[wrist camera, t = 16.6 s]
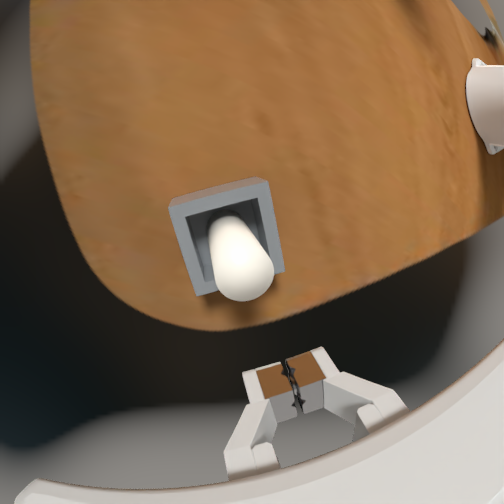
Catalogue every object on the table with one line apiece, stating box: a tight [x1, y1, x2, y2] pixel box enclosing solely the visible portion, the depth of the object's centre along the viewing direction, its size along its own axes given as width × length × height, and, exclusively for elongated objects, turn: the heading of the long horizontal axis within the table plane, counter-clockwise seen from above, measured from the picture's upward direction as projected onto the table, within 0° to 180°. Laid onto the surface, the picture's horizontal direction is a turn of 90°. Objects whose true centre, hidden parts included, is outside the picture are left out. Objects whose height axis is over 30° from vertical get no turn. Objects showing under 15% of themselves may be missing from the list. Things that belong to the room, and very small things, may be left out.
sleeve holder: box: [168, 176, 285, 296], centre depth 27 cm, size 9×9×5 cm
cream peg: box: [206, 210, 274, 301], centre depth 23 cm, size 4×4×11 cm
